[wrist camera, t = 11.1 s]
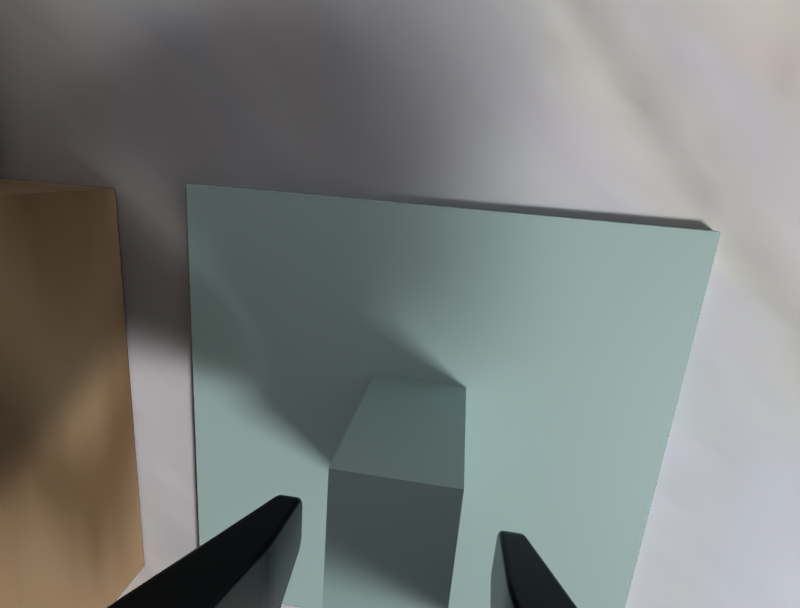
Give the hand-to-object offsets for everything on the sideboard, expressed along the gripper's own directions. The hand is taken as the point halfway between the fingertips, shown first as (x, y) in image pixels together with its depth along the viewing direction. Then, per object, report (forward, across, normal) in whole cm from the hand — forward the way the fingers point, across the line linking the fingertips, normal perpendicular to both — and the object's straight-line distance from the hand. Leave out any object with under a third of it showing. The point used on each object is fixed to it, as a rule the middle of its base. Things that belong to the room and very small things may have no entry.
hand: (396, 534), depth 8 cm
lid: (+4, 0, 0) cm, 4 cm away
